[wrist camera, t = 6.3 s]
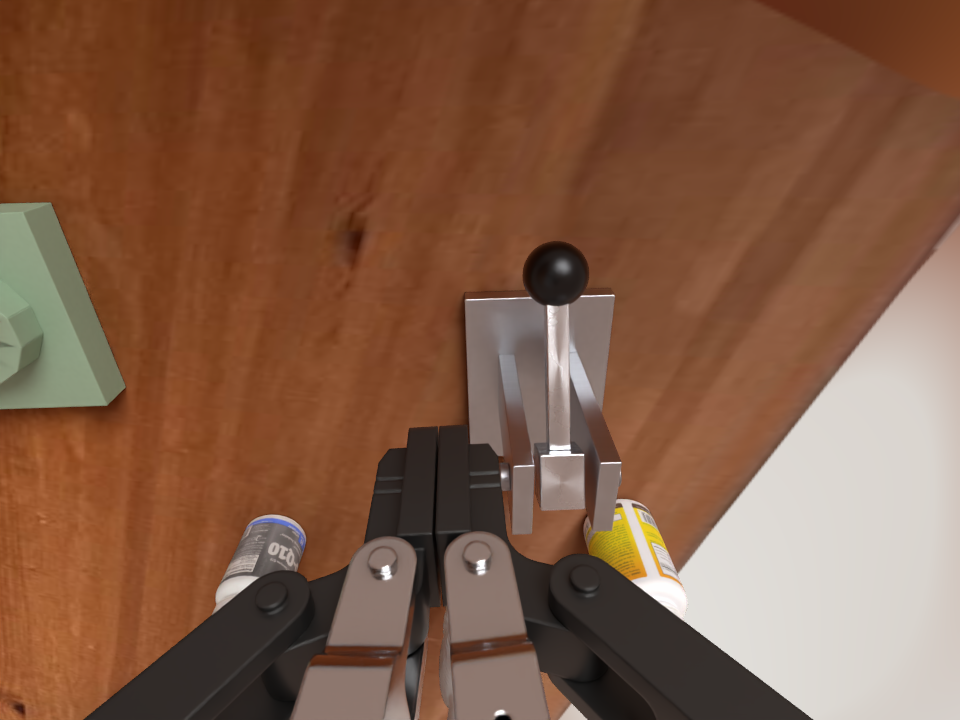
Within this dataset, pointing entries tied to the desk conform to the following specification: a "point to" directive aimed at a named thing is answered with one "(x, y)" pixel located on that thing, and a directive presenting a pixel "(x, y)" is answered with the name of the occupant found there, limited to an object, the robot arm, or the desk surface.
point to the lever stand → (540, 394)
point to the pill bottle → (262, 554)
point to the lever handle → (557, 373)
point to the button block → (48, 319)
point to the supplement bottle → (639, 554)
